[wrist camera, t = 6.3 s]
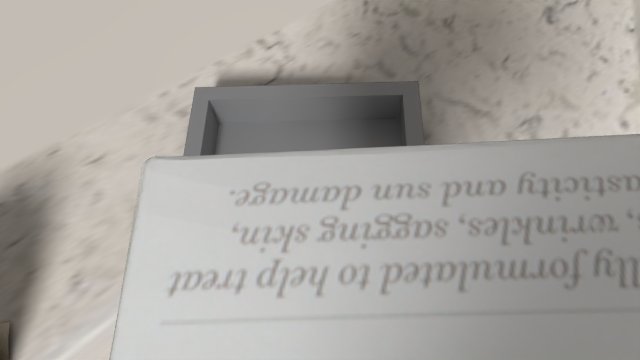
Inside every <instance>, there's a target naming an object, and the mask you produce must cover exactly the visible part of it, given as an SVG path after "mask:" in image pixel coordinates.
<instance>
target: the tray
mask: <svg viewBox="0 0 640 360" xmlns="http://www.w3.org/2000/svg"><path fill="white" fill-rule="evenodd" d="M418 145H424V136H423V125H422V115H421V105H420V94H419V84H418V81H410V82H373V83H337V84H300V85H264V86H227V87H195V91H194V97H193V103H192V109H191V114H190V120H189V126H188V132H187V138H186V144H185V149H184V155H183V156H205V155H225V154H246V153H268V152H291V151H311V150H332V149H352V148H374V147H396V146H418Z"/></svg>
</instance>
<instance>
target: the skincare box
mask: <svg viewBox="0 0 640 360" xmlns="http://www.w3.org/2000/svg"><path fill="white" fill-rule="evenodd" d="M109 360H640V134H630V135H610V136H590V137H571V138H552V139H534V140H515V141H497V142H478V143H459V144H440V145H418V146H396V147H374V148H352V149H332V150H311V151H291V152H268V153H246V154H225V155H205V156H180V157H152V158H149V159H148V160H147V161H146V162H145V163H144V164H143V166H142V170H141V176H140V183H139V189H138V195H137V201H136V207H135V213H134V219H133V225H132V231H131V237H130V243H129V249H128V255H127V261H126V267H125V273H124V279H123V285H122V291H121V297H120V303H119V309H118V314H117V320H116V326H115V331H114V337H113V342H112V348H111V354H110V359H109Z"/></svg>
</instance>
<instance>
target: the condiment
mask: <svg viewBox="0 0 640 360" xmlns="http://www.w3.org/2000/svg"><path fill="white" fill-rule="evenodd" d="M9 324H10V321H7V322H3V323H0V360H8V359H9V345H8V336H9Z"/></svg>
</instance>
